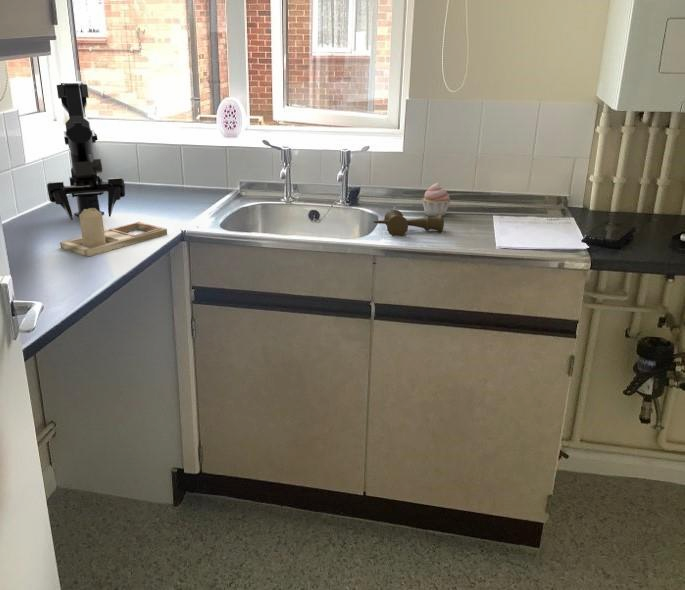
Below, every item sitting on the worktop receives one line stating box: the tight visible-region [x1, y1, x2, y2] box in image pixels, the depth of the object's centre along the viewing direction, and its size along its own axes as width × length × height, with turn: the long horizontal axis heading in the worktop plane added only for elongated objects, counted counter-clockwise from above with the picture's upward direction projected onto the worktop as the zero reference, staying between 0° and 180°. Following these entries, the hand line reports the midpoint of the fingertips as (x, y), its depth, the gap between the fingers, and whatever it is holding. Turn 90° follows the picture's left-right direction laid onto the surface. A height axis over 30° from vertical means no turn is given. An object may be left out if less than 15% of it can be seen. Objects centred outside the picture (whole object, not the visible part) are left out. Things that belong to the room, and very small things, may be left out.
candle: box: [78, 208, 107, 248], centre depth 173 cm, size 6×6×10 cm
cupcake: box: [420, 182, 452, 217], centre depth 206 cm, size 9×9×10 cm
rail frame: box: [59, 221, 168, 257], centre depth 179 cm, size 12×25×2 cm, turn 144°
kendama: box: [373, 209, 445, 237], centre depth 189 cm, size 6×10×20 cm
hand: (90, 217), depth 171 cm, fingers open, 9 cm apart
